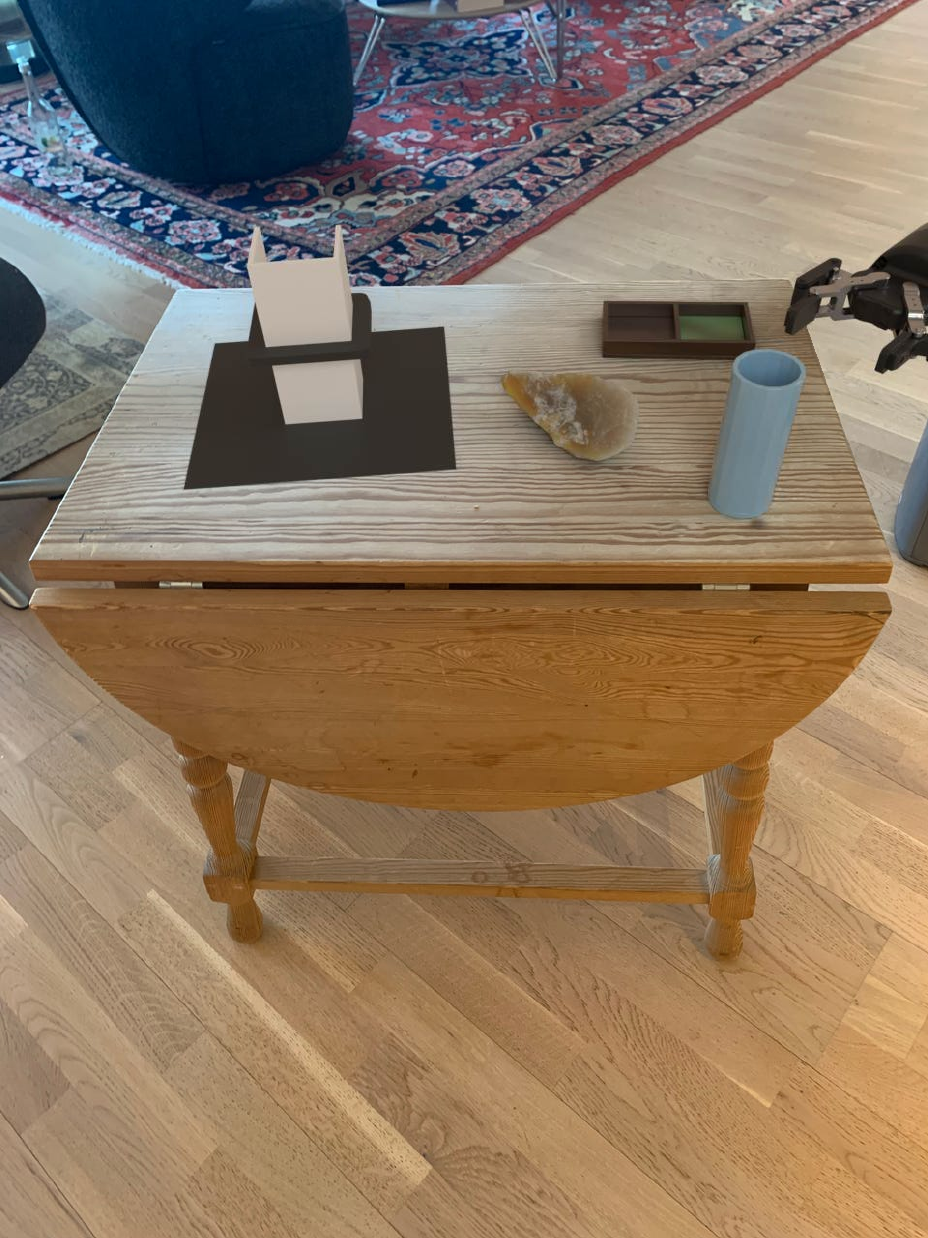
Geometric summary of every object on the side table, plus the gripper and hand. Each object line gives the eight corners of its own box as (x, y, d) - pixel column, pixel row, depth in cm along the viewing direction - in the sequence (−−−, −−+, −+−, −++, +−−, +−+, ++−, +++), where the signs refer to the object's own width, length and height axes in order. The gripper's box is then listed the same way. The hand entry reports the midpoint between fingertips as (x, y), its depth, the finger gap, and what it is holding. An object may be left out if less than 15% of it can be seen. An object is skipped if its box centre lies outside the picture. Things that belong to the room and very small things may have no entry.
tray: (602, 317, 100) (603, 300, 99) (744, 318, 99) (748, 301, 97) (602, 357, 95) (603, 340, 94) (752, 360, 94) (756, 342, 92)
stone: (634, 411, 78) (487, 352, 84) (615, 478, 82) (475, 417, 87) (667, 390, 83) (526, 335, 89) (647, 453, 87) (513, 397, 93)
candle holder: (444, 326, 101) (433, 172, 88) (456, 469, 85) (445, 305, 72) (214, 343, 101) (172, 191, 88) (183, 489, 84) (126, 328, 72)
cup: (750, 471, 82) (781, 342, 73) (783, 509, 79) (820, 379, 69) (695, 486, 81) (720, 357, 72) (727, 525, 78) (756, 395, 68)
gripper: (871, 205, 85) (770, 272, 78) (1025, 255, 78) (929, 334, 71) (849, 281, 91) (753, 350, 84) (991, 334, 84) (899, 415, 76)
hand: (834, 343), depth 77 cm, fingers open, 8 cm apart
